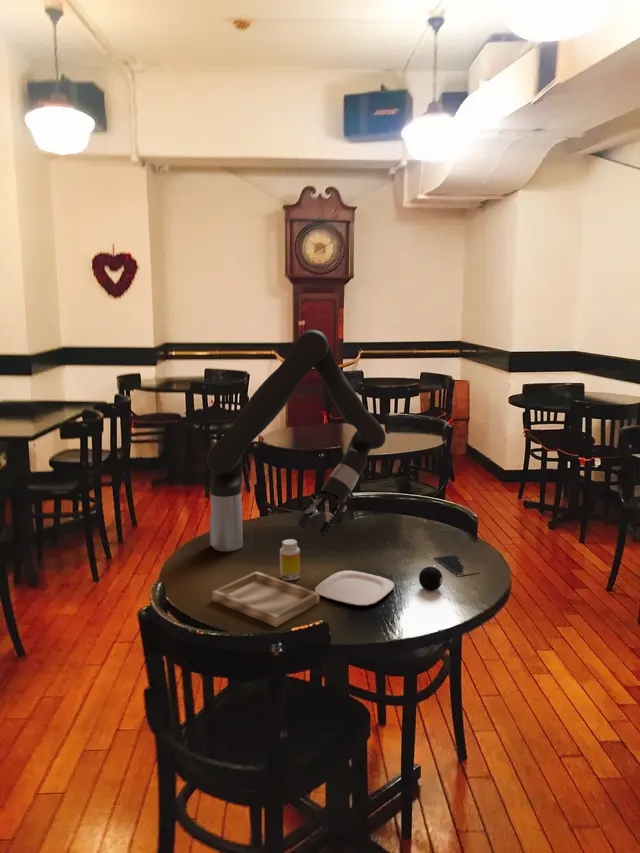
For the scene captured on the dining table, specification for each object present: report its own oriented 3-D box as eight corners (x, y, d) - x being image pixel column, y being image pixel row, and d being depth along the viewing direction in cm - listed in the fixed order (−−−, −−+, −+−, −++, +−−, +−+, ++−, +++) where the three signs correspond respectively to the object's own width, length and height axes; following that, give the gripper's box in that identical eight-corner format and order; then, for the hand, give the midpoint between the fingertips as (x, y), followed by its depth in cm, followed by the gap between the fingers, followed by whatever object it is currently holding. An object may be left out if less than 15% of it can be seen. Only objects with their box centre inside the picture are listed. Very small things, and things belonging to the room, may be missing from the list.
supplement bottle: (303, 578, 184) (303, 543, 182) (284, 582, 182) (284, 546, 180) (295, 571, 189) (294, 536, 187) (277, 575, 186) (276, 540, 184)
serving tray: (212, 600, 171) (212, 591, 171) (256, 579, 184) (256, 571, 183) (276, 627, 158) (276, 617, 157) (319, 602, 170) (319, 593, 169)
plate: (369, 614, 164) (369, 608, 164) (306, 597, 174) (306, 591, 173) (401, 587, 179) (401, 581, 179) (342, 572, 189) (342, 566, 188)
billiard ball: (437, 596, 173) (438, 574, 172) (415, 591, 176) (415, 569, 175) (445, 587, 178) (445, 565, 177) (423, 582, 181) (424, 561, 180)
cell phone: (458, 578, 184) (458, 575, 184) (432, 559, 197) (432, 557, 197) (481, 574, 187) (481, 571, 187) (454, 556, 200) (454, 553, 200)
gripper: (317, 471, 196) (286, 517, 191) (351, 481, 185) (320, 531, 180) (330, 485, 200) (301, 531, 195) (364, 496, 190) (334, 544, 185)
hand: (310, 531), depth 188 cm, fingers open, 8 cm apart
